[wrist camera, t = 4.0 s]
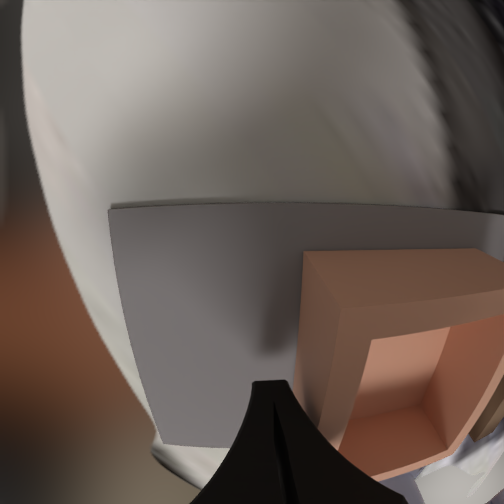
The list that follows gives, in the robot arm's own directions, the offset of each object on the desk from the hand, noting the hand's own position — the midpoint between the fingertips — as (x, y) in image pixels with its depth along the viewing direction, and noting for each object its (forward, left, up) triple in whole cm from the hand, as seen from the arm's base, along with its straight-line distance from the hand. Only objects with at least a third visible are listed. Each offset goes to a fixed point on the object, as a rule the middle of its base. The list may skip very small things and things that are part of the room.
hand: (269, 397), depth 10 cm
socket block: (0, -6, -2) cm, 6 cm away
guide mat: (0, -6, -2) cm, 6 cm away
